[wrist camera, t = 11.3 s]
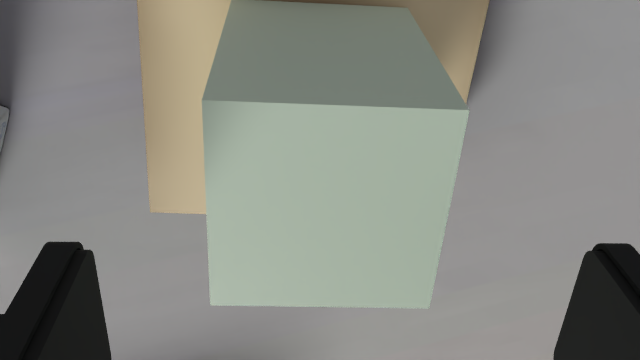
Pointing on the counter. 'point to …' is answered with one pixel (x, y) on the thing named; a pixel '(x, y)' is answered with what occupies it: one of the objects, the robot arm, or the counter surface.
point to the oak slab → (196, 61)
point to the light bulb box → (3, 123)
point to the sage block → (327, 157)
